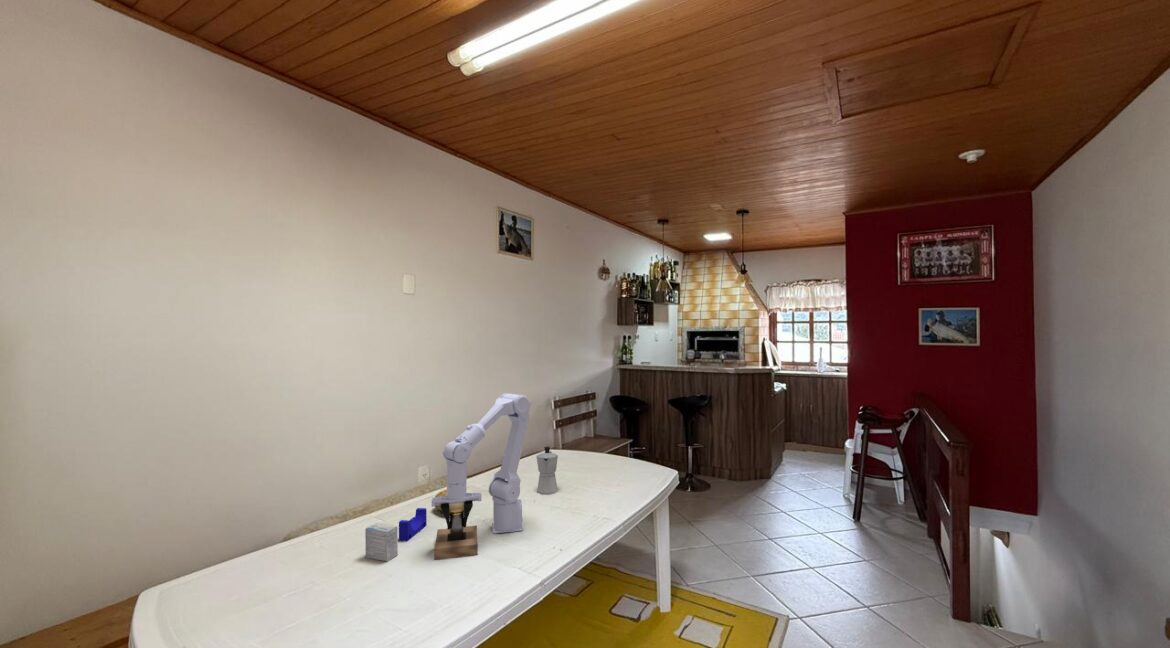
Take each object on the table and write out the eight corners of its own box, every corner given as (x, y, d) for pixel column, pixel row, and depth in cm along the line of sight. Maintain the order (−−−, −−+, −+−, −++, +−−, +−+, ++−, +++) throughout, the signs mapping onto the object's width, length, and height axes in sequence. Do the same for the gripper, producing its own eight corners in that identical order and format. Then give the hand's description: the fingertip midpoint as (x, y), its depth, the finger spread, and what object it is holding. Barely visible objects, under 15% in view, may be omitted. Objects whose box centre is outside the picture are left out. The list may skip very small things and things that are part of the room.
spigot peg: (462, 534, 145) (462, 508, 145) (464, 539, 141) (464, 512, 141) (449, 536, 143) (449, 510, 143) (450, 542, 140) (450, 514, 140)
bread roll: (449, 503, 179) (449, 482, 179) (473, 513, 169) (473, 490, 169) (426, 511, 171) (426, 488, 172) (450, 521, 162) (450, 498, 162)
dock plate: (476, 534, 150) (476, 525, 150) (477, 554, 136) (477, 544, 137) (437, 539, 147) (437, 529, 147) (434, 559, 134) (434, 549, 134)
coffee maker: (556, 496, 185) (556, 450, 186) (534, 496, 186) (534, 450, 186) (559, 484, 200) (559, 441, 201) (538, 484, 200) (538, 442, 201)
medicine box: (398, 555, 137) (398, 525, 137) (387, 562, 132) (387, 531, 133) (376, 551, 139) (376, 522, 139) (364, 558, 135) (364, 527, 135)
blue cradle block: (414, 525, 158) (414, 507, 159) (426, 526, 158) (426, 508, 158) (394, 541, 147) (394, 521, 147) (407, 541, 146) (407, 522, 146)
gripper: (479, 475, 148) (480, 519, 148) (431, 480, 144) (431, 525, 144) (482, 482, 142) (482, 527, 141) (431, 487, 137) (431, 534, 137)
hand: (456, 527), depth 142 cm, fingers closed on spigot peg, 4 cm apart
